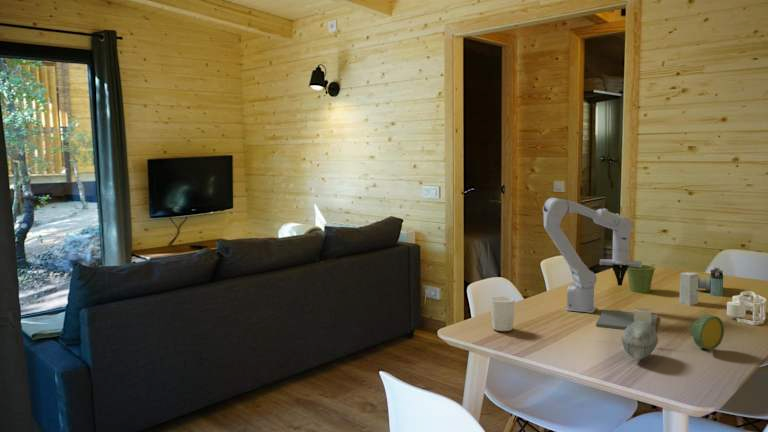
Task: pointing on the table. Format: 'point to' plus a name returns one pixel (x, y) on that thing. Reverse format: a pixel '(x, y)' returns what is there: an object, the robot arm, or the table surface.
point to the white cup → (502, 313)
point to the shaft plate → (619, 319)
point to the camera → (713, 282)
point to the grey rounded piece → (639, 339)
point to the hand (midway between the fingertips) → (620, 285)
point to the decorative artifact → (707, 331)
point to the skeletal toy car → (747, 307)
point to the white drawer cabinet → (643, 314)
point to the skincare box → (688, 288)
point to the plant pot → (640, 278)
